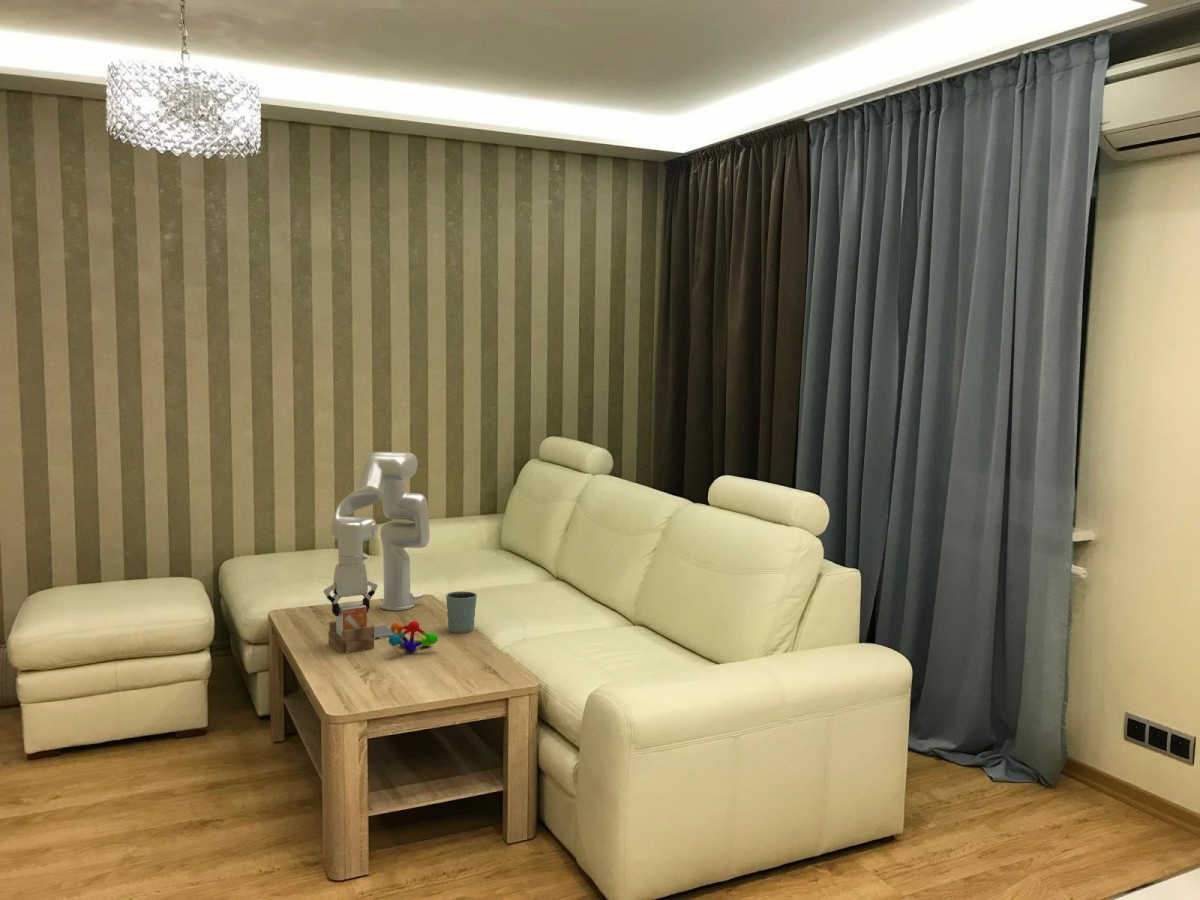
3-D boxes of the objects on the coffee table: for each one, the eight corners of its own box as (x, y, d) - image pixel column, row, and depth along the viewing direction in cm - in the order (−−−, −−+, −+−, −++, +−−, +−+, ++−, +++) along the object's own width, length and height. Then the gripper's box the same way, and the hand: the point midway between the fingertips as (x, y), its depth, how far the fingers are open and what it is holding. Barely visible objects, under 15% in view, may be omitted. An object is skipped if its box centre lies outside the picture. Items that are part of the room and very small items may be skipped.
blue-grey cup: (440, 630, 344) (440, 595, 343) (458, 623, 353) (458, 589, 352) (465, 635, 340) (465, 599, 338) (482, 627, 348) (482, 593, 347)
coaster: (384, 626, 348) (384, 625, 348) (398, 635, 338) (398, 633, 338) (350, 632, 341) (350, 630, 341) (363, 641, 331) (363, 639, 331)
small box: (343, 650, 321) (342, 609, 320) (336, 645, 327) (335, 605, 325) (367, 646, 326) (367, 606, 324) (360, 641, 331) (360, 601, 330)
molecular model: (388, 657, 326) (388, 649, 312) (388, 627, 329) (388, 618, 315) (436, 655, 329) (438, 647, 315) (436, 625, 332) (438, 616, 318)
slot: (359, 638, 334) (359, 617, 334) (374, 648, 324) (374, 626, 323) (328, 643, 329) (328, 621, 328) (342, 653, 318) (342, 631, 317)
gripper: (372, 555, 331) (372, 607, 333) (319, 560, 322) (320, 614, 323) (381, 559, 325) (381, 612, 326) (327, 565, 315) (328, 619, 317)
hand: (351, 613), depth 325 cm, fingers open, 9 cm apart
